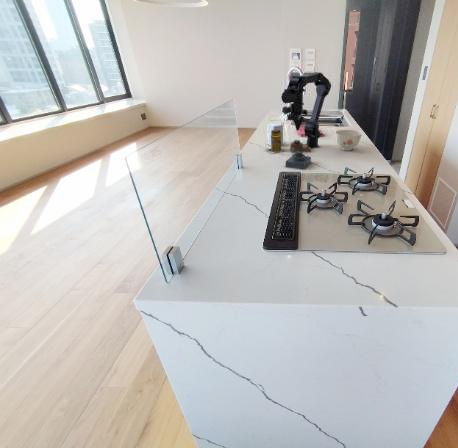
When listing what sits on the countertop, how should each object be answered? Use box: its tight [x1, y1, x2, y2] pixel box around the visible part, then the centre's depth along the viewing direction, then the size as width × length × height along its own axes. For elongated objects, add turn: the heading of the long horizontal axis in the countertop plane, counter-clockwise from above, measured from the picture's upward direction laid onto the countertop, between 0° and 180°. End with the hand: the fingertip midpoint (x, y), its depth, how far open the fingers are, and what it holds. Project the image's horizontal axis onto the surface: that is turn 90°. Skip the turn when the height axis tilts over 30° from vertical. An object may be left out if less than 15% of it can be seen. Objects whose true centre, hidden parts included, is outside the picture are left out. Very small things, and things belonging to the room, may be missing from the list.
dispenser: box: [285, 153, 312, 170], centre depth 151 cm, size 12×10×5 cm
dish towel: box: [297, 125, 324, 137], centre depth 212 cm, size 17×24×3 cm
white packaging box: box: [266, 122, 284, 146], centre depth 181 cm, size 7×7×13 cm
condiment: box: [266, 130, 284, 154], centre depth 170 cm, size 7×8×12 cm
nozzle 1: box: [293, 139, 301, 144], centre depth 171 cm, size 4×4×2 cm
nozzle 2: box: [294, 151, 303, 157], centre depth 150 cm, size 4×4×2 cm
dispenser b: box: [290, 141, 311, 154], centre depth 173 cm, size 10×8×4 cm
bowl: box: [334, 129, 363, 151], centre depth 176 cm, size 16×16×10 cm
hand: (297, 130), depth 165 cm, fingers closed
